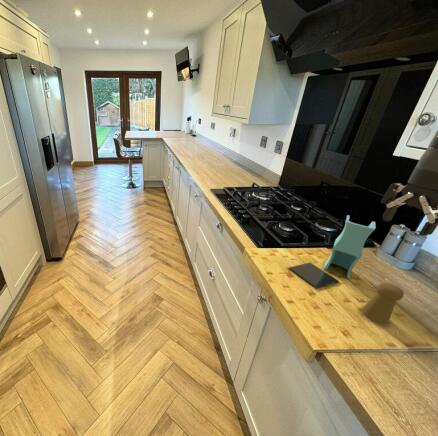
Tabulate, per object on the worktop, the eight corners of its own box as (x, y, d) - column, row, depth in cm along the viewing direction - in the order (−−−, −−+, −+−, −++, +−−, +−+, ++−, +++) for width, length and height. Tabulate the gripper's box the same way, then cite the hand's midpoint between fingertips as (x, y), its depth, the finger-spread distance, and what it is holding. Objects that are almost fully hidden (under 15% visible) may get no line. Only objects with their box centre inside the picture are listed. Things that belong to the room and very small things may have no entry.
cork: (393, 321, 67) (414, 292, 63) (379, 325, 66) (399, 296, 61) (370, 305, 73) (387, 277, 68) (356, 309, 71) (373, 281, 66)
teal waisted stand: (351, 268, 89) (375, 222, 80) (349, 278, 84) (375, 229, 75) (326, 259, 94) (347, 214, 85) (323, 268, 88) (345, 221, 80)
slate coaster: (309, 263, 91) (310, 262, 91) (338, 282, 82) (339, 280, 82) (288, 268, 88) (289, 267, 88) (315, 288, 79) (316, 287, 78)
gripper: (493, 176, 51) (448, 240, 58) (415, 161, 64) (385, 215, 71) (468, 177, 50) (425, 242, 57) (393, 161, 62) (366, 216, 69)
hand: (403, 227), depth 64 cm, fingers open, 8 cm apart
